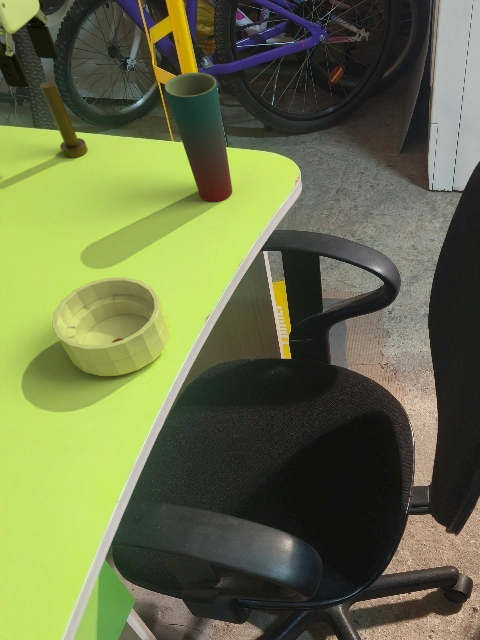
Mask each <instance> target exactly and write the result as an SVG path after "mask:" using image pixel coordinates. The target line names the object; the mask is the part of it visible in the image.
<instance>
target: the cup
mask: <svg viewBox="0 0 480 640" xmlns="http://www.w3.org/2000/svg"><path fill="white" fill-rule="evenodd" d="M164 91H165V94H166V96H167V99H168V102H169V106H170V108H171V112H172V114H173V118H174V121H175V124H176V127H177V130H178V134H179V136H180V139H181V142H182V145H183V148H184V151H185V154H186V157H187V161H188V163H189V166H190V170H191V172H192V175H193V178H194V181H195V185H196V188H197V191H198V194H199V197H200V198H201V199H202V200H203V201H206V202H209V203H210V202H211V203H217V202H222V201H224V200H227V199H228V198H230V197H231V196H232V194H233V185H232V177H231V172H230V165H229V157H228V151H227V145H226V138H225V137H226V136H225V131H224V123H223V116H222V110H221V104H220V96H219V89H218V83H217V79H216V78H215V77H214V76H213V75H211V74H208V73H205V72H195V71H194V72H186V73H182V74H181V73H180V74H177V75H176V76H174V77H172V78H170V79H168V80H167V81H166V82H165V84H164Z"/></svg>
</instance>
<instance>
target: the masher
mask: <svg viewBox="0 0 480 640" xmlns="http://www.w3.org/2000/svg"><path fill="white" fill-rule="evenodd" d="M39 87H40V89H41V91H42V94H43V97H44V99H45V101H46V104H47V106H48V108H49V110H50V113H51V116H52V117H53V119H54V123H55V125H56V126H57V128H58V132H59V134H60V136H61V138H62V142H61V143H60V144H59V145H60V146H59V148H60V150H61V152H62V154H63V156H64V157H66V158H70V159H75V158H79V157H82V156H84V155H85V154H87V153H88V151H89V149H88V145H87V143H86V141H85V140H84V139H83V138H80V137H78V136H77V133H76V131H75V129H74V126H73V124H72V121H71V119H70V117H69V114H68V111H67V109H66V107H65V104H64V102H63V99H62V97H61V94H60V92H59V90H58V87H57V85H56V83H55V82H54V81H44V82H42V83H40V85H39Z"/></svg>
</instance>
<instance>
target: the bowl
mask: <svg viewBox="0 0 480 640" xmlns="http://www.w3.org/2000/svg"><path fill="white" fill-rule="evenodd" d="M51 323H52V325H51V326H52V330H53V331H54V333H55V335H56V337H57V339H58V341H59V342H60V344H61V346H62V347H63V349H64V350H65V352H66V354H67V355H68V357H69V359H70V361H71V362H72V364H73V365H74V366H76V367H77V368H78V369H79V370H81V371H82V372H84V373H87V374H91V375H95V376H99V377H114V376H115V377H116V376H122V375H126V374H129V373H132V372H136V371H139V370H140V369H142V368H144V367H145V366H148V365H149V364H151V363H152V362H155V360H156V359H157V358H158V357H159V356H160V355H161V354H162V353H163V352H164V351H165V349H166V347H167V345H168V343H169V341H170V339H171V338H170V337H171V330H170V323H169V320H168V318H167V315H166V312H165V310H164V307H163V305H162V302H161V300H160V297H159V296H158V294H157V293H156V291H155V289H154V288H153V287H152V286H151V285H149V284H148V283H146V282H144V281H142V280H140V279H136V278H131V277H127V276H126V277H125V276H123V277H122V276H121V277H105V278H102V279H97V280H93V281H90V282H87V283H85V284H84V285H81V286H79V287H78V288H76V289H74V290H72V291H71V292H70V293H69V294H67V295H66V296H65V297H64V298H63V299H62V300H61V301H60V302H59V303H58V305H57V306H56V309H55V310H54V311H53V314H52V322H51ZM118 338H123V340H121V341H117V342H113V341H114V340H115V339H118ZM112 342H113V343H112Z"/></svg>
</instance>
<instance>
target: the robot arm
mask: <svg viewBox="0 0 480 640" xmlns="http://www.w3.org/2000/svg"><path fill="white" fill-rule="evenodd" d="M48 24H49V20H48V16H47V15H45V1H44V0H0V36H2V41H1V40H0V72H1V74H2V77H3V80H4V81H5V84H6V85H7V86H8V87H13V88H14V87H15V88H28V87H29V86H30V81H29V79H28V77H27V75H26V72H25V69H24V67H23V64H22V62H21V59H20V57H19V55H18V53H14V45H13V34H15V33H17V32H18V31H19V30H20V29H21V28H23V27H24V26H25V29H26V31H27V34H28V36H29V39H30V41H31V44H32V47H33V49H34V52H35V54H36V57H38V58H40V59H51V60H55V59H58V57H59V54H58V50H57V48H56V44H55V42H54V39H53V37H52V34H51V32H50V29H49V26H48Z"/></svg>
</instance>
